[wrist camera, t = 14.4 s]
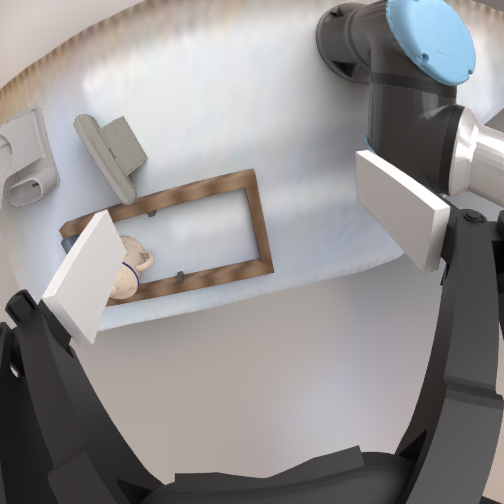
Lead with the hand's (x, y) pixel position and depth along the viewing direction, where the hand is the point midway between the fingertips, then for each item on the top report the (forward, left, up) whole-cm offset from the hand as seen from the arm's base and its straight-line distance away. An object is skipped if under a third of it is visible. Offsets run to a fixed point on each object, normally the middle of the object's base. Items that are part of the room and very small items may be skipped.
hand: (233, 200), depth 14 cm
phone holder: (+37, -6, -35) cm, 51 cm away
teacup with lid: (+24, +21, -35) cm, 47 cm away
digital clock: (+19, 0, -35) cm, 40 cm away
